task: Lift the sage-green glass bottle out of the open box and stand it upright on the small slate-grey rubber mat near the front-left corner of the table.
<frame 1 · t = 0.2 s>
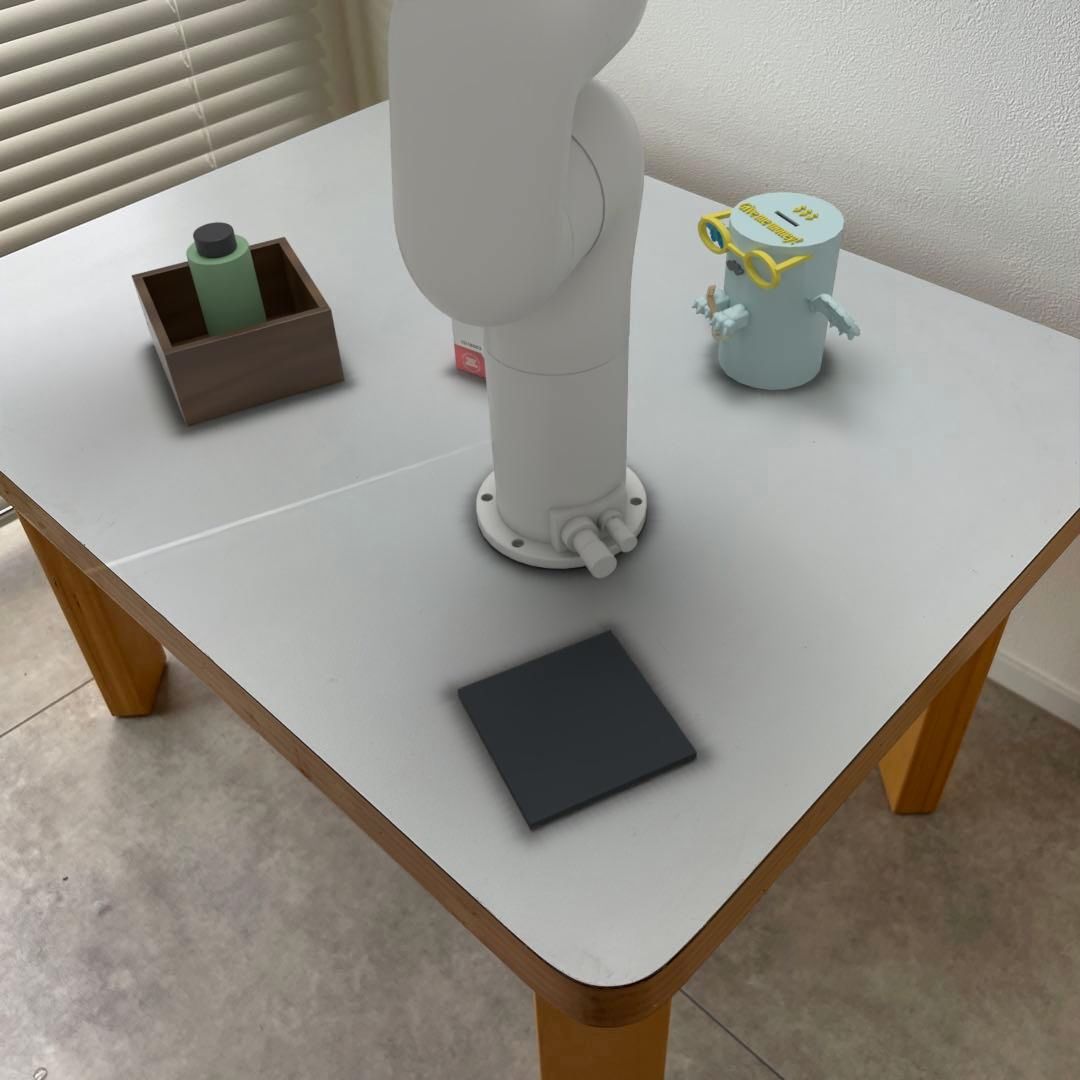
mat: (573, 725, 70), on the table
bottle: (246, 361, 99), resting on open box
ink cartridge box: (511, 374, 98), on the table
open box: (247, 365, 100), on the table
character sculpture: (756, 366, 97), on the table
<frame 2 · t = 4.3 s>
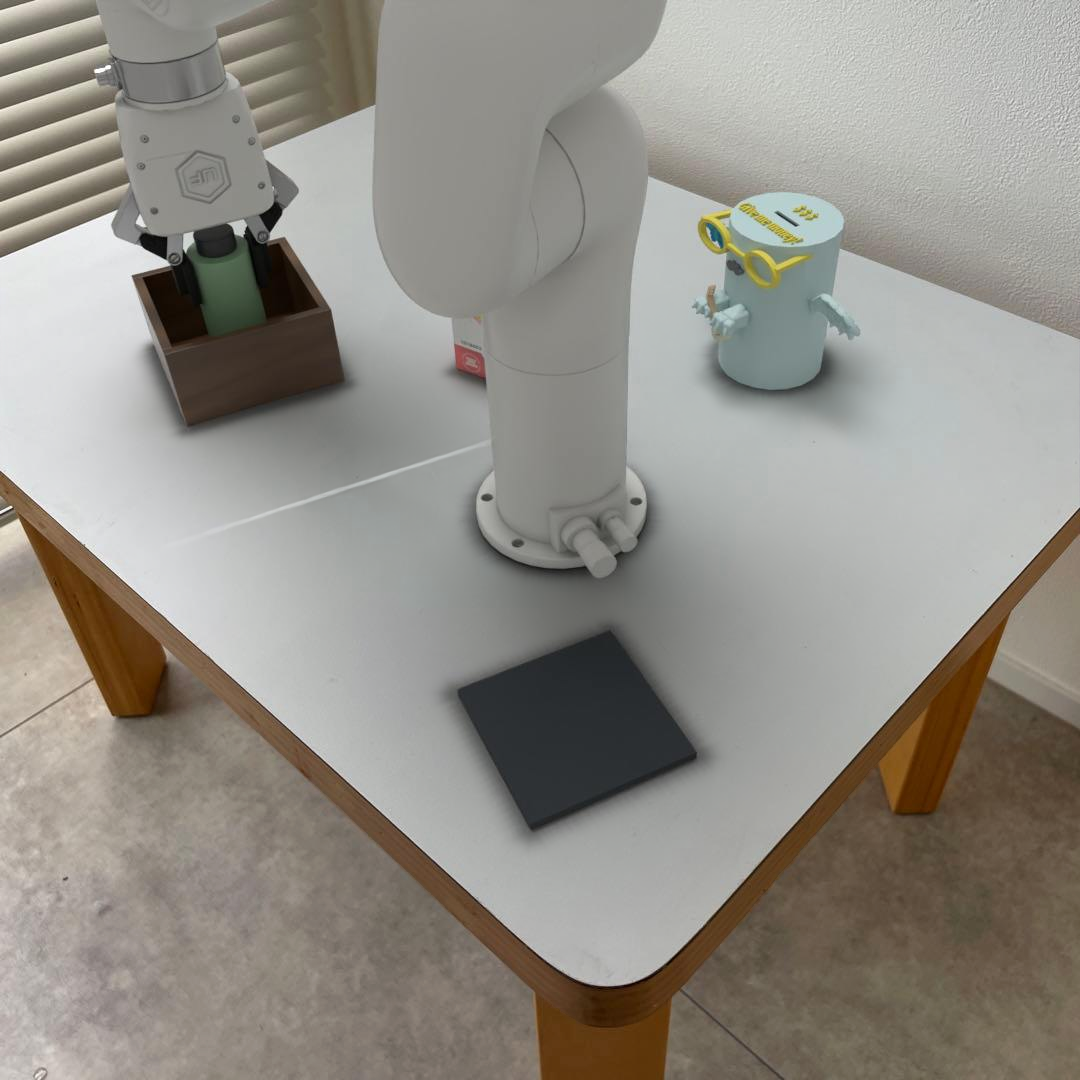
hand: (227, 288, 94), 8 cm above the table, tool pointing down, fingers closed on bottle, 5 cm apart
bottle: (246, 361, 99), resting on open box, touching gripper
everything else where it was.
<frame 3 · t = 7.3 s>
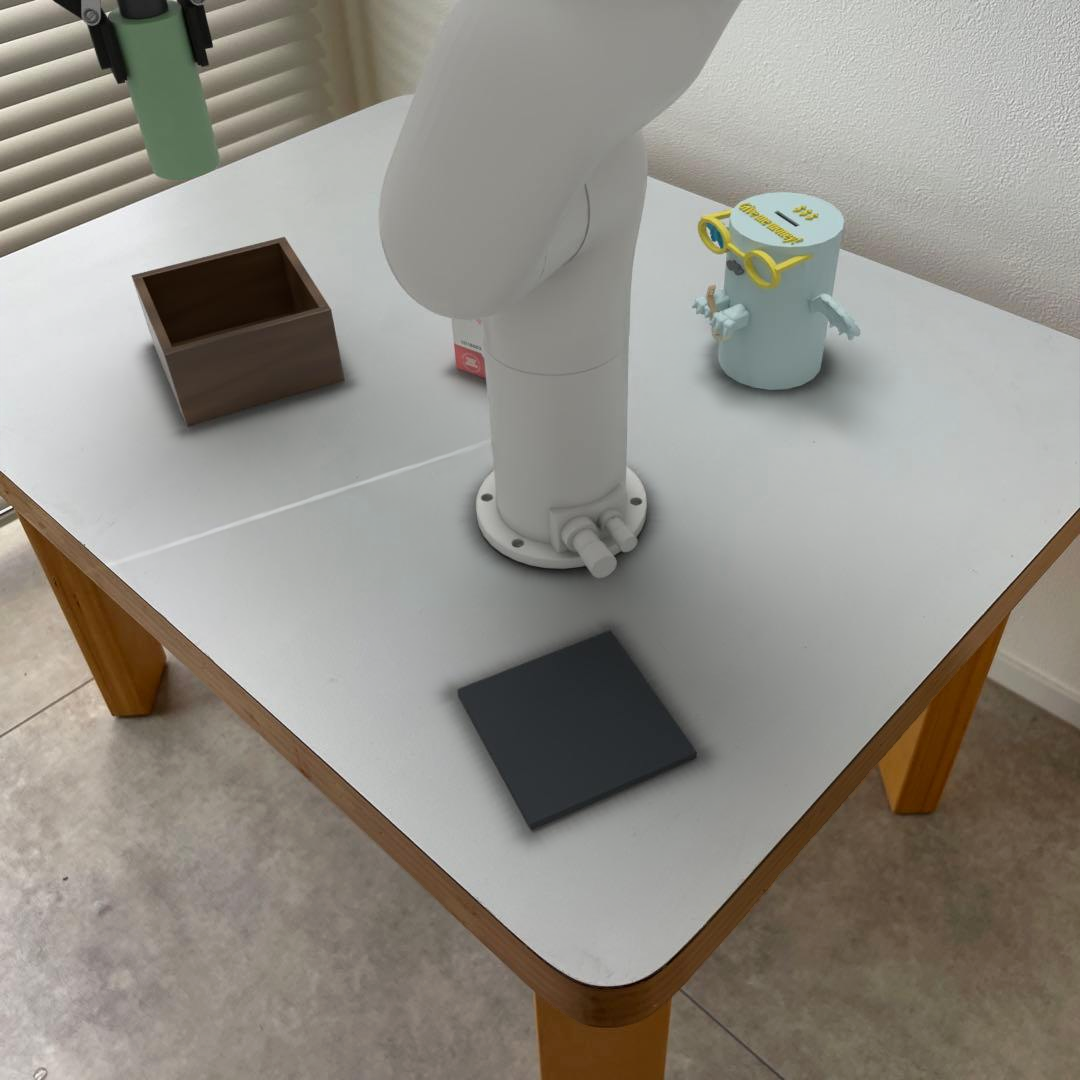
hand: (159, 65, 80), 27 cm above the table, tool pointing down, fingers closed on bottle, 5 cm apart
bottle: (186, 165, 85), point 19 cm above the table, touching gripper
everything else where it was.
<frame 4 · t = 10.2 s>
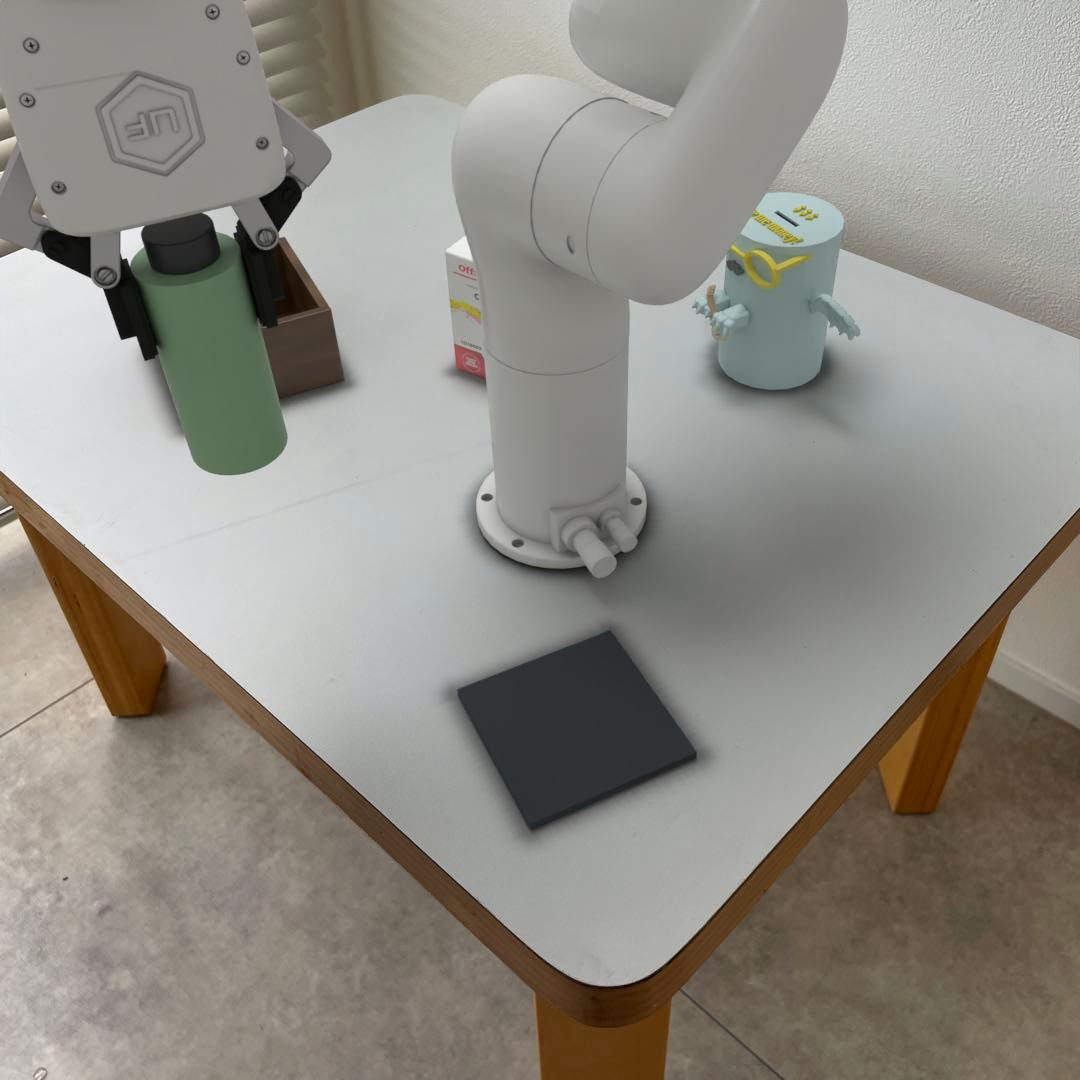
hand: (205, 325, 54), 27 cm above the table, tool pointing down, fingers closed on bottle, 5 cm apart
bottle: (239, 444, 59), point 20 cm above the table, touching gripper
everything else where it was.
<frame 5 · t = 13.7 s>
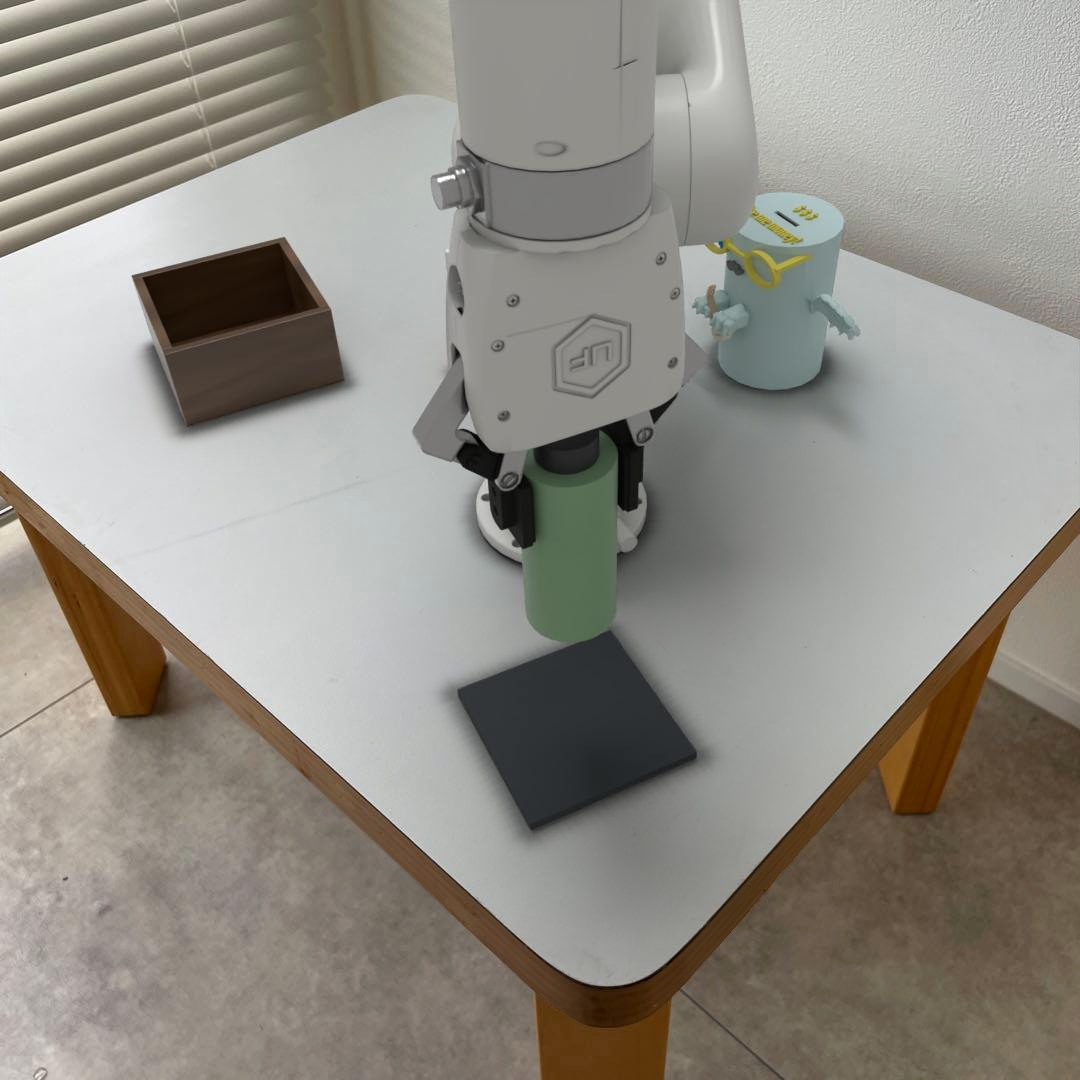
hand: (567, 510, 58), 18 cm above the table, tool pointing down, fingers closed on bottle, 5 cm apart
bottle: (570, 608, 63), point 11 cm above the table, touching gripper
everything else where it was.
when the fingers open (8 cm above the table, at t = 16.4 s): bottle stays where it is, resting on mat.
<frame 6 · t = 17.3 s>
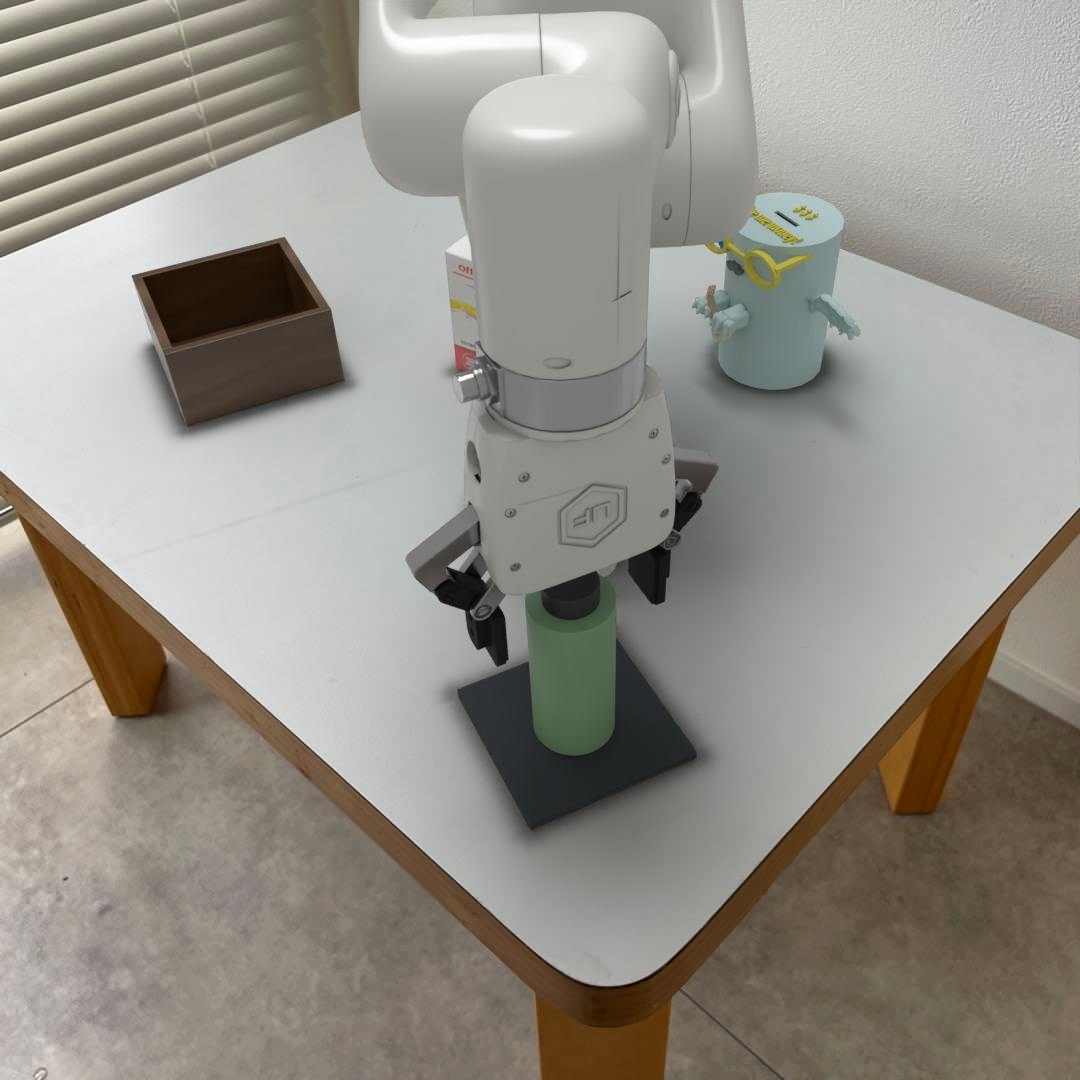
hand: (570, 617, 64), 10 cm above the table, tool pointing down, fingers open, 9 cm apart
bottle: (574, 722, 70), point 1 cm above the table, touching mat
everything else where it was.
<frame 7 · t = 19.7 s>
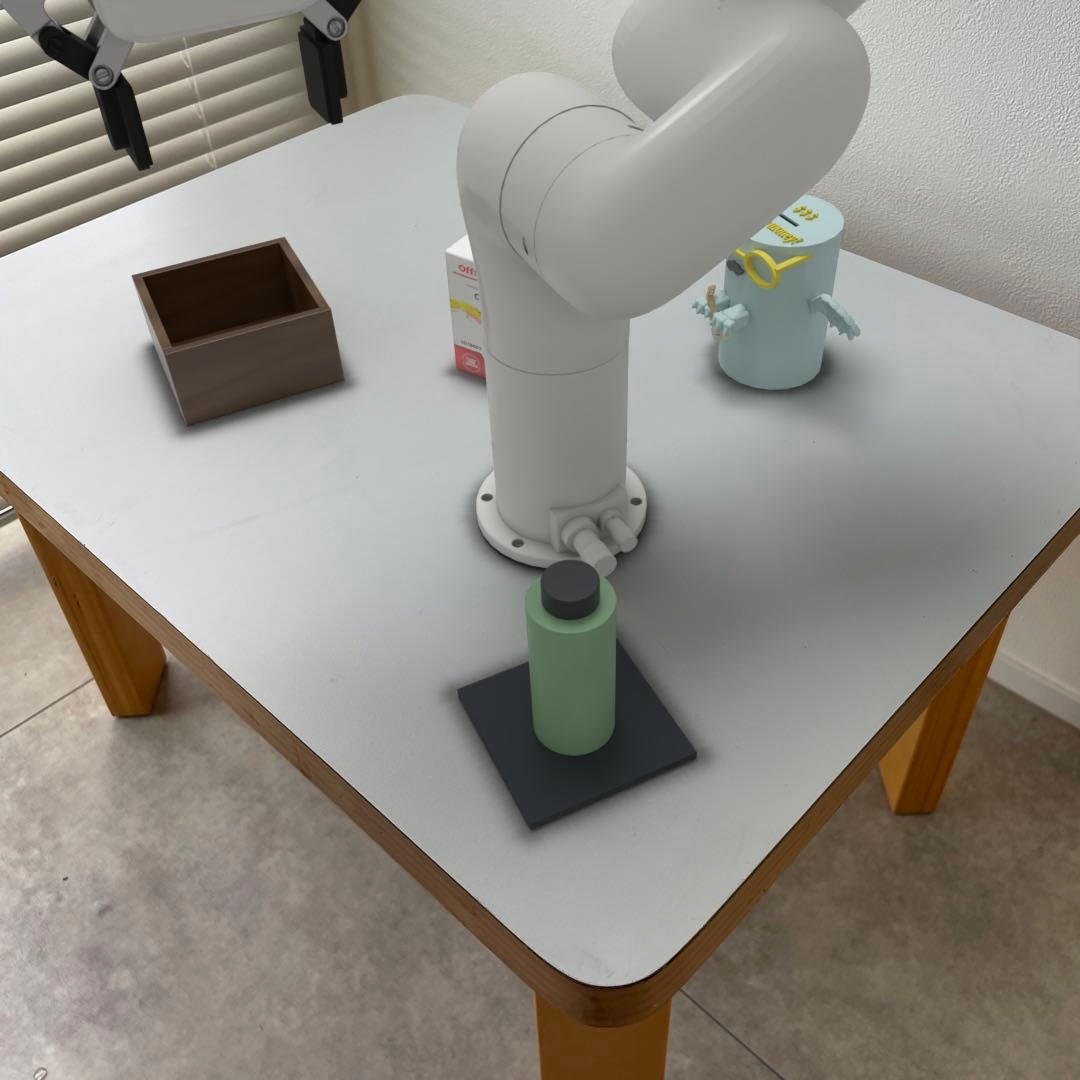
hand: (235, 136, 57), 33 cm above the table, tool pointing down, fingers open, 9 cm apart
nothing on the table moved.
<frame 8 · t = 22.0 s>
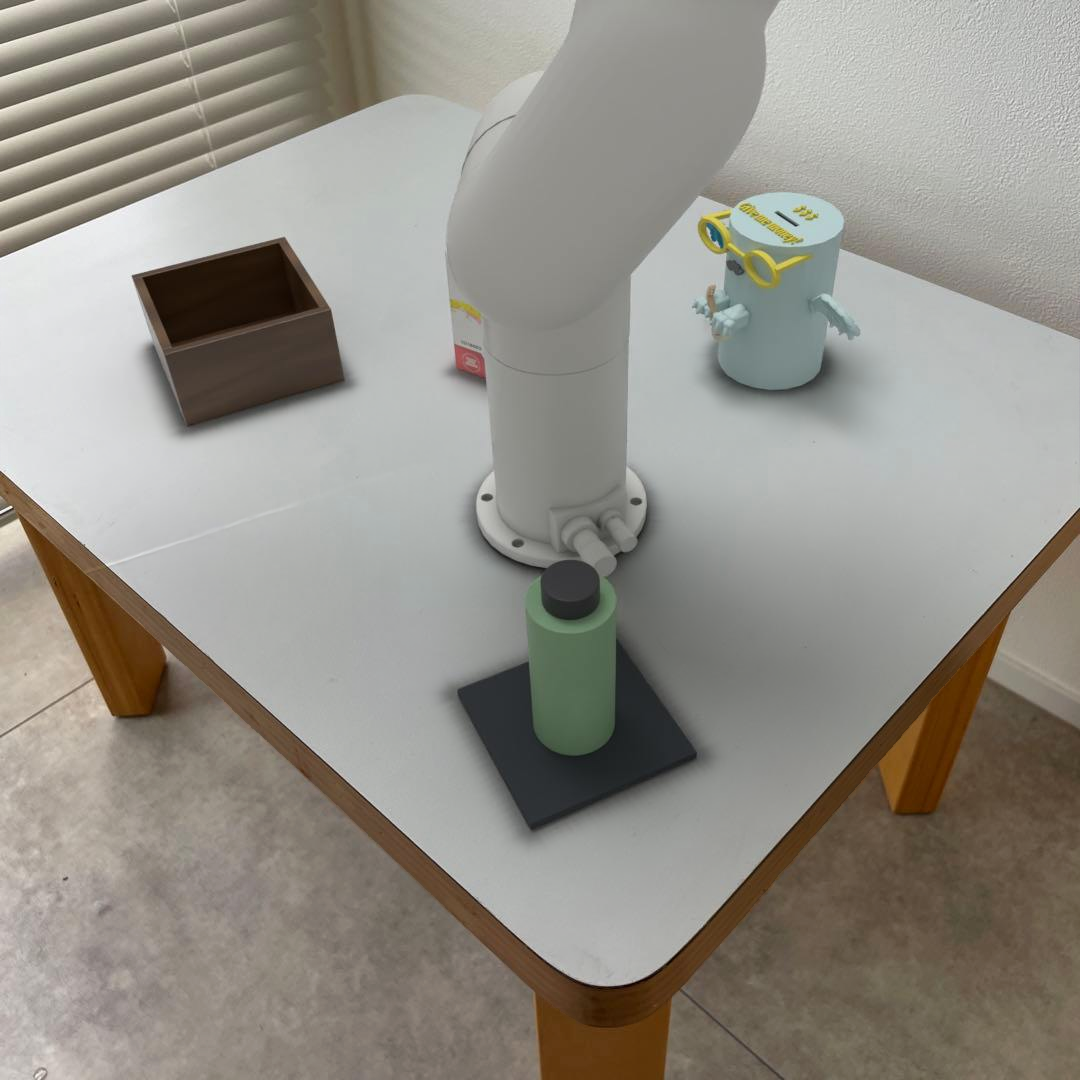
hand: (14, 0, 62), 36 cm above the table, tool pointing down, fingers open, 9 cm apart
nothing on the table moved.
at the end: bottle inside the target area on the mat (0.2 cm from its centre), point 0.6 cm above the mat's base; bottle tilted 0°; the gripper is holding nothing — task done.
